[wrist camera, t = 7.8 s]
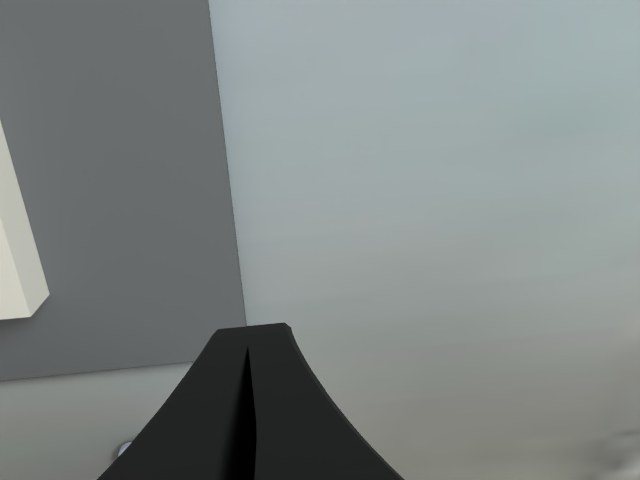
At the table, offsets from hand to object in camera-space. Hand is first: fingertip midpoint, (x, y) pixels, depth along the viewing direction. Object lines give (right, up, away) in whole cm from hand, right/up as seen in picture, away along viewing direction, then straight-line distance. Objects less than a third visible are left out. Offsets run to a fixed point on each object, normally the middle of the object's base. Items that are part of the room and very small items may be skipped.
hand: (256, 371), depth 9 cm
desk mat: (-9, +5, +8) cm, 13 cm away
